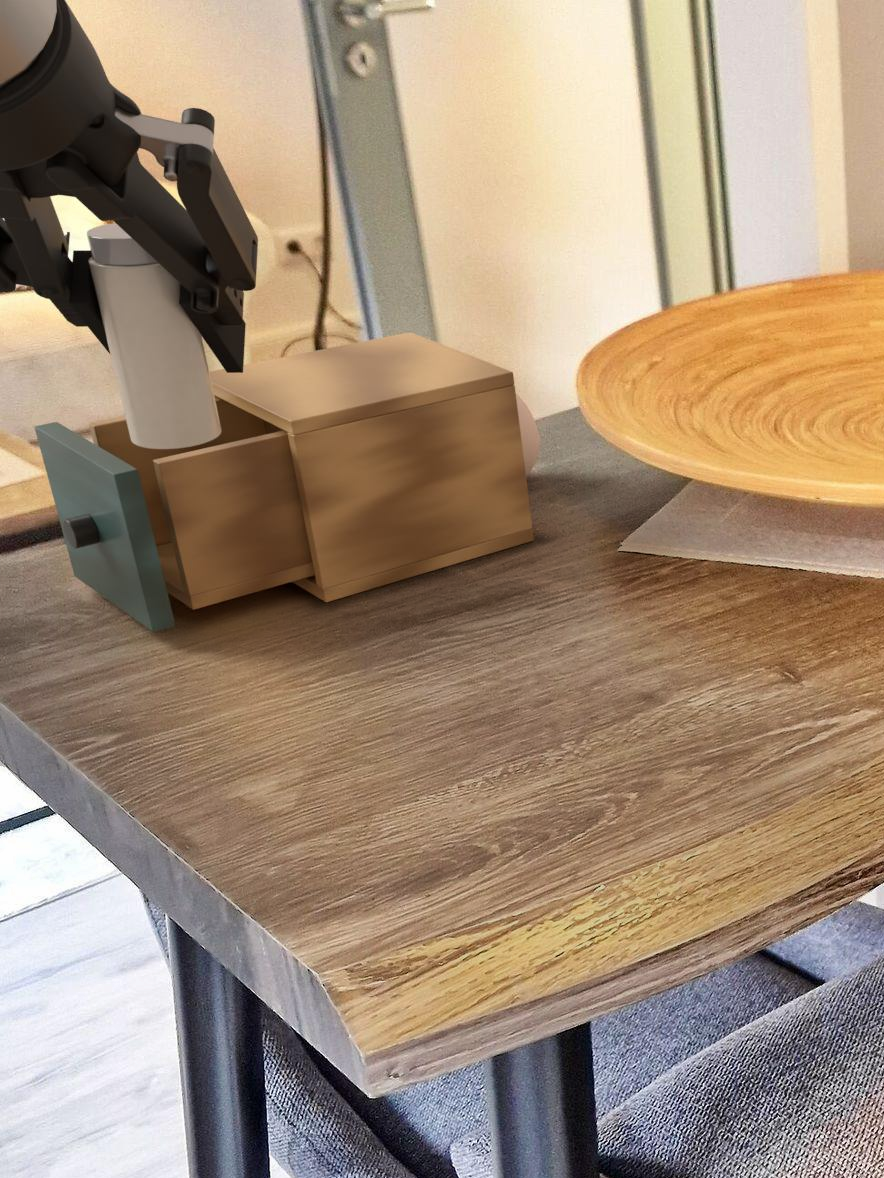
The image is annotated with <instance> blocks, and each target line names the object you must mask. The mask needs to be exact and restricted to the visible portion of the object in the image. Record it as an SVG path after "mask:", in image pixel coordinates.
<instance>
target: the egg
mask: <svg viewBox="0 0 884 1178" xmlns="http://www.w3.org/2000/svg"><path fill="white" fill-rule="evenodd" d="M516 400H517V408H518V416H519V424H520V432H521V440H522V448H523V456H524V464H525V472H526V477H527V476H528V475H529V474H530V473H531V471H532V470H533V468H534V467H535V465H536V462H537V460H538V455H539V453H540V436H539V431H538V426H537V423H536V421H535V418H534V415H533V413H532V412H531V410H530V409H529V407H528V405H527V404H526V403H525V401H524V400H523V399H522V398H521V396H520V395H519V394H518V393H516Z"/></svg>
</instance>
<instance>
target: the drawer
mask: <svg viewBox="0 0 884 1178" xmlns="http://www.w3.org/2000/svg"><path fill="white" fill-rule="evenodd" d="M215 401H216V405H217V410H218V415H219V420H220V424H221V429H222V432H221V434H220V435H219V436H218V437H217V438H216V439H214V440H212V441H209V442H207V443H204V444H200V445H196V446H192V447H186V448H179V449H149V448H143V447H139V446H137V445H135V444H133V443H132V441H131V439H130V434H129V430H128V426H127V422H126V418H125V415H122V416H117V417H112V418H107V419H101V420H98V421H92V422H90V423H88V427H89V431H90V434H91V439H92V441H90V440H89V439H87V438H85V437H84V436H81V435H80V434H78V433H76V432H75V431H73V430H71V429H70V428H68V427H66V426H65V425H63V424H61V423H59V422H58V421H55V422H50V423H49V422H48V423H44V424H39V425H35V426H34V427H33V428H34V431H35V434H36V438H37V442H38V446H39V449H40V453H41V456H42V461H43V464H44V468H45V472H46V475H47V480H48V483H49V486H50V491H51V494H52V498H53V501H54V505H55V509H56V513H57V516H58V519H59V523H60V527H61V531H62V536H63V539H64V542H65V546H66V549H67V552H68V553H67V554H68V557H69V560H70V564H71V568H72V571H73V575H74V577H75V578H77V579H78V580H79V581H81V582H82V583H83V584H85V585H86V586H88V587H89V588H90V589H92V590H93V591H94V592H96V593H98V594H99V595H100V596H102V597H103V598H105V600H107V601H109V602H110V603H111V604H113V605H114V606H116V607H117V608H118V609H120V610H122V612H124V613H126V614H127V615H128V616H129V617H131V618H132V619H134V620H135V621H137V623H139V624H141V625H142V626H144V627H145V628H147V630H149V631H151V632H152V633H156V632H159V631H163V630H166V629H170V628H174V627H176V623H175V622H176V621H175V618H174V614H173V609H172V606H171V605H172V604H171V601H170V597H169V595H171V596H172V597H174V598H175V599H176V600H178V601H179V602H181V603H183V604H184V605H186V606H187V607H189V608H190V609H192V610H198V609H201V608H205V607H208V606H212V605H215V604H219V603H222V602H226V601H229V600H232V599H236V598H240V597H243V596H246V595H250V594H255V593H257V592H262V591H265V590H268V589H271V588H274V587H278V586H281V585H285V584H288V583H289V584H290V583H293V582H292V581H296V580H299V579H303V578H306V577H310V576H313V575H315V572H314V567H313V562H312V557H311V551H310V546H309V541H308V536H307V531H306V526H305V521H304V515H303V510H302V505H301V500H300V495H299V490H298V485H297V479H296V474H295V469H294V464H293V459H292V454H291V449H290V444H289V438H288V432H287V431H285V430H283V429H281V428H279V427H277V426H275V425H273V424H271V423H269V422H267V421H265V420H263V419H261V418H259V417H257V416H255V415H253V414H251V413H249V412H247V411H245V410H243V409H241V408H239V407H237V406H235V405H233V404H231V403H229V402H227V401H225V400H223V399H221V398H219V397H215Z"/></svg>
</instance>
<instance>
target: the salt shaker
mask: <svg viewBox="0 0 884 1178" xmlns="http://www.w3.org/2000/svg"><path fill="white" fill-rule="evenodd" d="M86 236H87V242H88V246H89V250H91V254H92V257H91V258H90V259H89V261H88V262H89V267H90V271H91V275H92V279H93V283H94V288H95V292H96V296H97V300H98V304H99V309H100V313H101V317H102V321H103V325H104V329H105V334H106V338H107V342H108V346H109V350H110V354H109V355H110V359H111V362H112V366H113V372H114V376H115V381H116V383H117V389H118V392H119V396H120V400H121V404H122V409H123V413H124V416H125V418H126V422H127V426H128V430H129V434H130V439H131V441H132V443H133V444H135V445H137V446H139V447H143V448H149V449H179V448H186V447H192V446H196V445H200V444H204V443H207V442H209V441H212V440H214V439H216V438H217V437H218V436H219V435H220V434H221V432H222V429H221V424H220V420H219V415H218V410H217V405H216V401H215V396H214V391H213V386H212V382H211V377H210V367H209V363H208V358H207V354H206V353H207V352H206V349H205V344H204V339H203V337H202V336H201V334H200V332H199V331H198V329H197V328H196V327H195V326H194V324H193V323H192V321H191V320H190V318H189V317H188V315H187V314H186V312H185V311H184V310H183V308H182V307H181V305H180V304H179V296H180V282H179V281H177V280H176V279H175V278H174V277H173V276H172V275H171V274H170V273H169V272H168V271H167V270H166V269H165V268H163V267H162V266H161V265H160V264H159V263H158V262H157V261H156V260H155V259H154V258H153V257H152V256H151V255H150V254H148V253H147V252H146V251H145V250H144V249H143V248H142V247H141V246H140V245H139V244H138V243H137V242H136V241H134V240H133V239H132V238H131V237H130V236H129V235H128V234H127V233H126V232H125V231H124V230H123V229H122V228H120V227H119V226H118V225H117V224H116V223H115V222H113V223H107V224H102V225H98V226H95V227H92V228H90V229H88V230H87V231H86Z"/></svg>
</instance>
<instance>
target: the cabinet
mask: <svg viewBox="0 0 884 1178" xmlns="http://www.w3.org/2000/svg"><path fill="white" fill-rule="evenodd" d="M209 372H210V377H211V382H212V386H213V391H214V396H215V397H219V398H221V399H223V400H225V401H227V402H229V403H231V404H233V405H235V406H237V407H239V408H241V409H243V410H245V411H247V412H249V413H251V414H253V415H255V416H257V417H259V418H261V419H263V420H265V421H267V422H269V423H271V424H273V425H275V426H277V427H279V428H281V429H283V430H285V431H287V432H288V438H289V444H290V449H291V454H292V459H293V464H294V469H295V474H296V479H297V485H298V490H299V495H300V500H301V505H302V510H303V515H304V521H305V526H306V531H307V536H308V541H309V546H310V551H311V557H312V562H313V567H314V572H315V575H313V576H310V577H306V578H303V579H299V580H296V581H292V582H291V583H293V584H295V585H297V586H298V587H300V588H301V589H303V590H305V591H306V592H308V593H310V594H312V595H313V596H315V597H316V598H318V599H319V600H321V601H323V602H324V603H329V602H332V601H336V600H339V599H342V598H345V597H349V596H353V595H356V594H359V593H362V592H365V591H370V590H373V589H376V588H380V587H382V586H386V585H390V584H393V583H396V582H399V581H402V580H403V581H404V580H406V579H410V578H412V577H416V576H420V575H423V574H427V573H430V572H433V571H436V570H440V569H443V568H447V567H450V566H454V565H457V564H459V563H464V562H467V561H470V560H473V559H477V558H480V557H483V556H487V555H490V554H493V553H497V552H500V551H504V550H507V549H510V548H513V547H517V546H520V545H524V544H527V543H530V542H534V541H535V536H534V530H533V522H532V513H531V505H530V497H529V490H528V488H529V487H528V482H527V480H528V479H527V476H526V472H525V464H524V456H523V448H522V440H521V432H520V424H519V416H518V408H517V400H516V394H517V393H516V386H515V378H514V372H513V371H511V370H509V369H506V368H504V367H501V366H499V365H495V364H493V363H491V362H489V361H485V360H483V359H480V358H477V357H476V356H473V355H470V354H468V353H465V352H463V351H460V350H457V349H456V348H453V347H450V346H447V345H445V344H442V343H440V342H438V341H435V340H432V339H430V338H427V337H425V336H422V335H419V334H417V333H415V332H411V331H409V332H404V333H399V334H394V335H393V334H392V335H389V336H385V337H383V336H382V337H378V338H373V339H367V340H364V341H363V340H362V341H358V342H354V343H353V342H352V343H348V344H343V345H337V346H333V347H327V348H323V349H317V350H312V351H308V352H302V353H297V354H293V355H287V356H283V357H276V358H271V359H267V360H262V361H257V362H252V363H247V364H244V365H243V373H227V372H226V371H225V369H224V368H221V369H220V368H219V369H215V370H211V371H210V370H209Z"/></svg>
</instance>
